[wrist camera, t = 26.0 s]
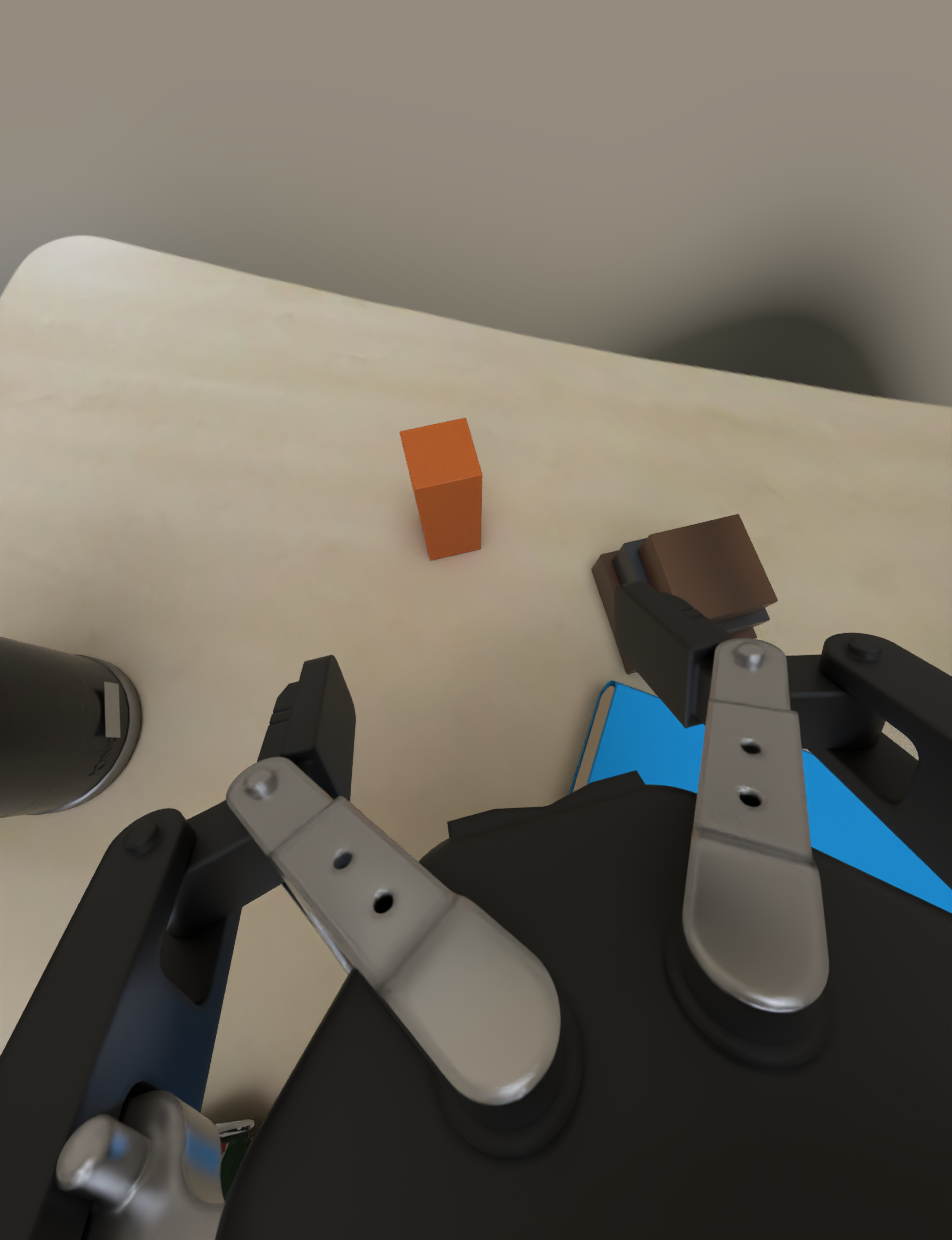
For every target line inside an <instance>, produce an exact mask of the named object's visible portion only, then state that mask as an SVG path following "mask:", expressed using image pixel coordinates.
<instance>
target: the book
mask: <svg viewBox="0 0 952 1240" xmlns="http://www.w3.org/2000/svg"><path fill="white" fill-rule="evenodd" d="M704 734H705V725H704V724H700V725H696V726H693V727H689V728H684V726H683V725H682V724H681V723H680V722H679V721H678V719H677V718H676V717H675V716H674V715H673V713H672V712H671V711H670V710H669V709H668V708H667V706H666V705H665V704H664V703H663V702H662V700H661V699H660V698H659V697H657V696H654V695H651V694H648V693H646V692H643V691H640V690H637V689H635V688H632V687H629V686H626V685H624V684H621V683H618V682H616V681H613V680H612V681H610V682H608V683H607V684H606V686H605V687H604V689H603V690H602V692H600V694H599V697H598V701H597V704H596V707H595V711H594V714H593V717H592V720H591V724H590V727H589V730H588V734H587V737H586V740H585V744H584V747H583V750H582V754H581V757H580V760H579V764H578V767H577V770H576V774H575V777H574V780H573V784H572V787H571V790H570V793H569V794H571V793H573V792H575V791H576V790H578V789H580V788H582V787H584V786H586V785H587V784H589V783H591V782H595V781H598V780H602V779H606V778H609V777H613V776H617V775H620V774H624V773H627V772H631V771H635V770H637V772H638V773H639V775H640V777H641V778H642V780H643V781H644V783H645V784H654V785H666V786H672V787H677V788H681V789H685V790H689V791H692V792H695V793H697V791H698V783H699V775H700V767H701V758H702V750H703V742H704ZM802 758H803V768H804V778H805V789H806V799H807V809H808V820H809V830H810V841H811V847H813V848H815V849H817V850H819V851H821V852H824V853H826V854H828V855H830V856H832V857H834V858H836V859H838V860H840V861H843V862H845V863H847V864H849V865H851V866H853V867H855V868H857V869H860V870H862V871H864V872H866V873H868V874H870V875H872V876H874V877H876V878H879V879H881V880H883V881H885V882H887V883H889V884H891V885H893V886H895V887H898V888H900V889H902V890H904V891H906V892H908V893H910V894H912V895H915V896H917V897H919V898H921V899H923V900H925V901H927V902H929V903H931V904H934V905H936V906H938V907H940V908H942V909H944V910H946V911H948V912H951V913H952V890H951V889H950V888H949V887H948V886H947V885H946V884H945V883H944V882H943V881H942V880H941V879H940V878H939V877H938V876H937V875H936V874H935V873H934V872H933V871H932V870H931V869H930V868H929V867H928V866H927V865H926V864H925V863H924V862H923V861H922V860H921V859H920V858H918V857H917V856H916V855H915V854H914V853H913V852H912V851H911V850H910V849H909V848H908V847H907V846H906V845H905V844H904V843H903V842H902V841H901V840H900V839H899V838H898V837H897V836H896V835H895V834H894V833H893V832H892V831H891V830H890V829H889V828H888V827H887V826H886V825H885V824H884V823H883V822H882V821H881V820H880V819H879V818H878V817H877V816H875V815H874V814H873V813H872V812H871V811H870V810H869V809H868V808H867V807H866V806H865V805H864V804H863V803H862V802H861V801H860V800H859V799H858V798H857V797H856V796H855V795H854V794H853V793H852V792H851V791H850V790H849V789H848V788H847V787H846V786H845V785H844V784H843V783H842V782H841V781H840V780H839V779H838V778H837V777H836V776H835V775H834V774H833V773H831V772H830V771H829V770H828V769H827V768H826V767H825V766H824V765H823V764H822V763H821V762H820V761H819V760H818V759H817V758H816V757H815V756H814V755H813V754H812V753H810V752H807V751H804V750H802Z"/></svg>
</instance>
